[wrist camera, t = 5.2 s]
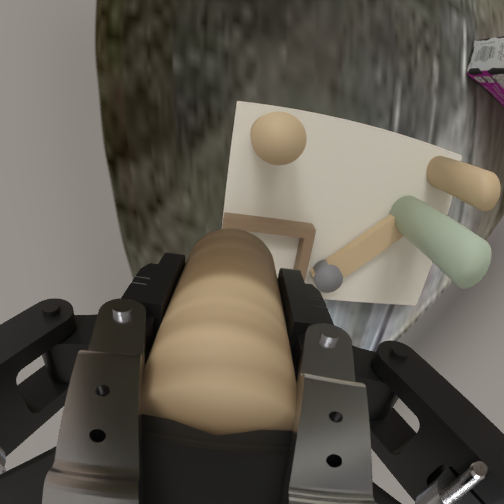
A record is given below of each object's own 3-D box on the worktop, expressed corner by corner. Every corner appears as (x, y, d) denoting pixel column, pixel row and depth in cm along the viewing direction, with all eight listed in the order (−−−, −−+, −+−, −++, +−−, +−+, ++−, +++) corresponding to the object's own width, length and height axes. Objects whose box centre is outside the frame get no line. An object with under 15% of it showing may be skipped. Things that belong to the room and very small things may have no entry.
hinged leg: (323, 291, 28) (352, 370, 18) (303, 265, 26) (329, 341, 17) (427, 218, 25) (495, 267, 16) (413, 188, 24) (485, 228, 14)
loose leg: (190, 222, 12) (115, 368, 4) (282, 235, 12) (328, 393, 5) (185, 301, 13) (138, 464, 6) (266, 312, 13) (282, 480, 6)
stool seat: (238, 102, 23) (232, 92, 15) (448, 151, 25) (511, 171, 16) (218, 276, 30) (207, 339, 21) (406, 294, 31) (445, 348, 23)
